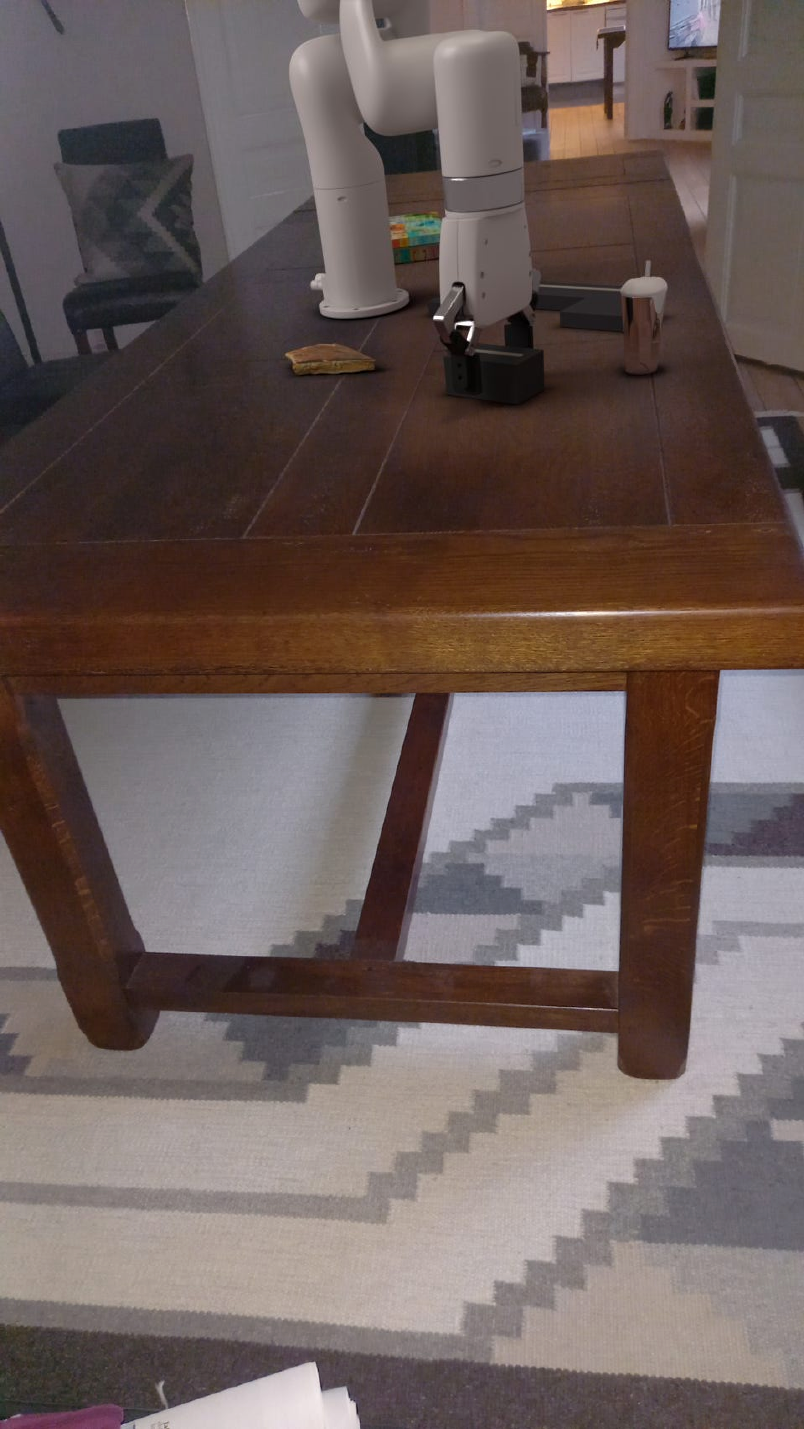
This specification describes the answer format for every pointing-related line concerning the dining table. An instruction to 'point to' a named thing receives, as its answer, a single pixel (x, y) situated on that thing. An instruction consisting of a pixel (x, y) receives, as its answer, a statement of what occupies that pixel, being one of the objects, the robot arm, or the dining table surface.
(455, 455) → the dining table surface
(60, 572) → the dining table surface
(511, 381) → the pad
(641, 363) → the milkshake
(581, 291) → the socket pad
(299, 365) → the toasted sandwich half
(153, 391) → the dining table surface
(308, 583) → the dining table surface
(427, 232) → the puzzle game
